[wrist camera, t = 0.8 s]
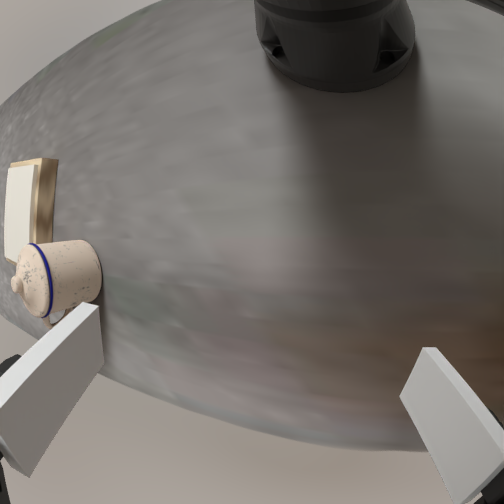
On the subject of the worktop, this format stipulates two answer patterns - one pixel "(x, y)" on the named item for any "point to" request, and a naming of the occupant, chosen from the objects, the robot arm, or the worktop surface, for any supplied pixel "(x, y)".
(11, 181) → the oak tea stand
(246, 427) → the worktop surface
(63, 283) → the teacup with lid
